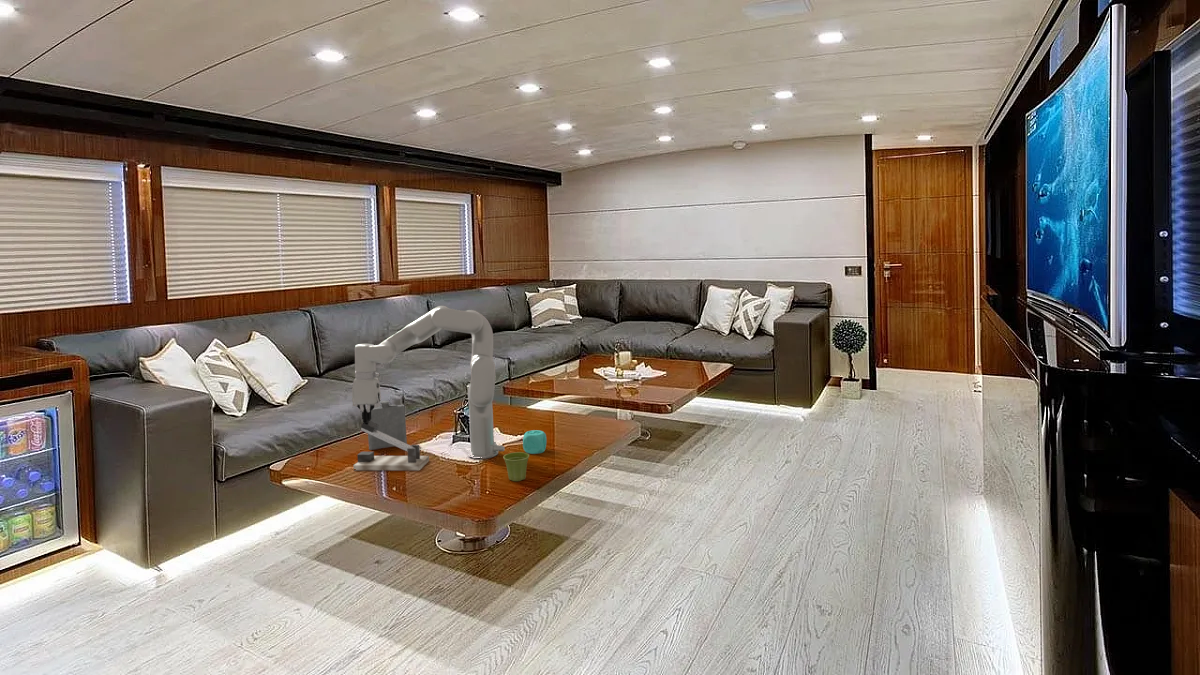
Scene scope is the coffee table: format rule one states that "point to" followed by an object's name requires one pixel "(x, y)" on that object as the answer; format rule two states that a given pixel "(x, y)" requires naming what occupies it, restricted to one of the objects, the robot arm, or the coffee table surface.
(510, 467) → the plant pot
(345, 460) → the coffee table surface
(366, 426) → the lever
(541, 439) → the decorative dice
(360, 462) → the base
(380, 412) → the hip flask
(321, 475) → the coffee table surface
